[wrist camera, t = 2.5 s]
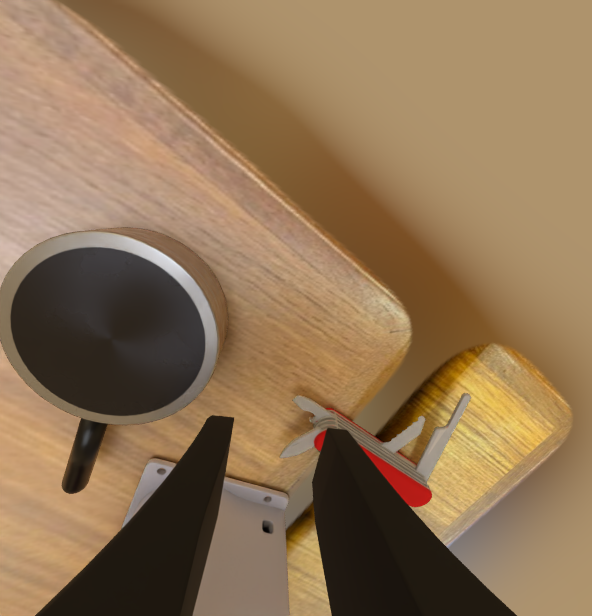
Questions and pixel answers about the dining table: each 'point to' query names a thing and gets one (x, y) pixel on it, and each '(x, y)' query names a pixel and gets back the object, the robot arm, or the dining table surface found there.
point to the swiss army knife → (382, 447)
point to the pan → (112, 330)
